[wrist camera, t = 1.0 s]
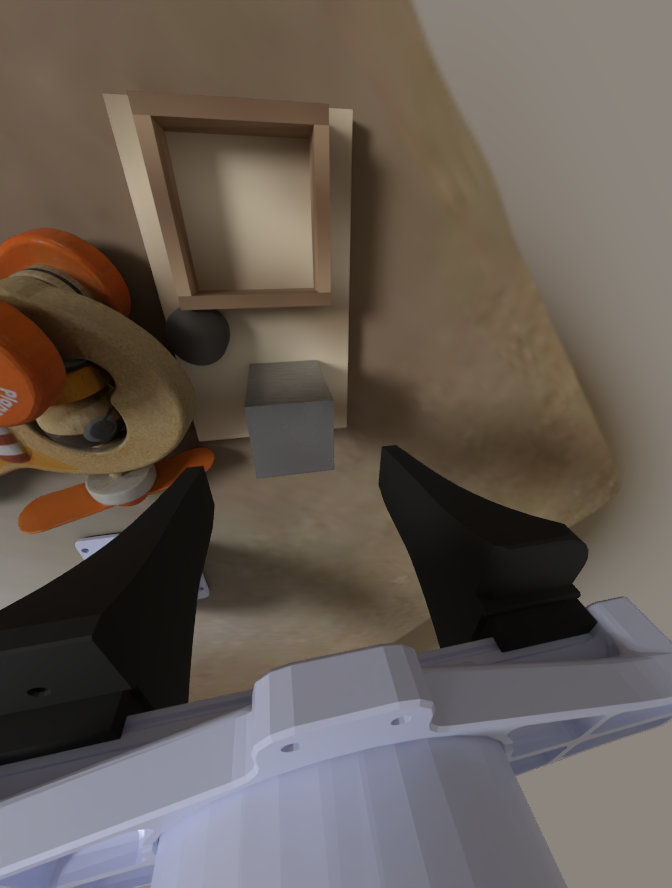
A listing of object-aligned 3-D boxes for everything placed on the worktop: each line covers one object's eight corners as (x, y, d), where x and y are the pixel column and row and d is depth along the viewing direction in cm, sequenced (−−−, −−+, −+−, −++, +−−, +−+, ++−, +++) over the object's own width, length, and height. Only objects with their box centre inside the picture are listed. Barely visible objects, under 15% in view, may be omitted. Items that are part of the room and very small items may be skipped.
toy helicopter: (81, 189, 13) (265, 413, 22) (-177, 381, 18) (60, 499, 27) (-86, 242, 7) (253, 513, 17) (-395, 500, 12) (-2, 598, 22)
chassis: (343, 420, 23) (353, 442, 21) (201, 433, 22) (193, 458, 19) (347, 117, 15) (364, 91, 12) (112, 103, 13) (76, 70, 11)
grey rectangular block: (318, 417, 22) (334, 469, 17) (258, 422, 21) (256, 478, 16) (316, 359, 19) (333, 400, 14) (249, 363, 19) (244, 407, 14)
